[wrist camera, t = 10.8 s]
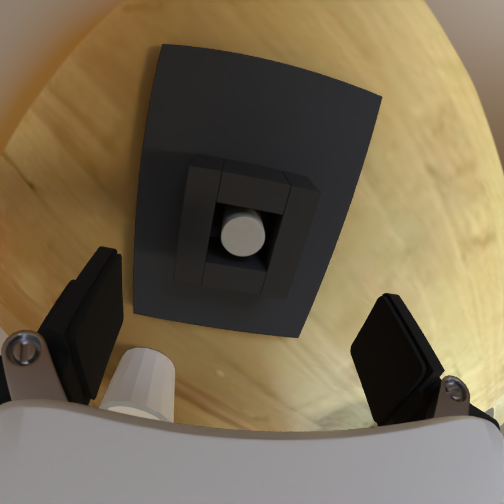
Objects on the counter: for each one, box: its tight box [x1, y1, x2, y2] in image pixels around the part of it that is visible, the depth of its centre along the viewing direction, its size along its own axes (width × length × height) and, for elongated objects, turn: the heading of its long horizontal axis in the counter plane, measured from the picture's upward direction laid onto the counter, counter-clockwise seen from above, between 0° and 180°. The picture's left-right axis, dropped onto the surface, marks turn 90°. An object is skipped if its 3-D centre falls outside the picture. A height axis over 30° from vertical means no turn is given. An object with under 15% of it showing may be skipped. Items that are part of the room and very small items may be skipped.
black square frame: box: [174, 154, 321, 299], centre depth 18 cm, size 7×7×4 cm
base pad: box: [133, 44, 382, 338], centre depth 19 cm, size 20×14×5 cm
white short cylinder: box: [99, 347, 175, 423], centre depth 25 cm, size 7×7×7 cm
